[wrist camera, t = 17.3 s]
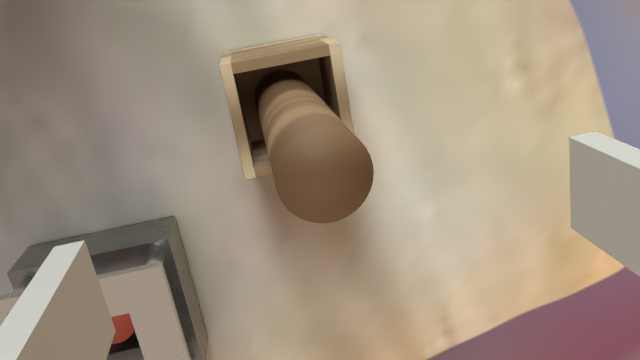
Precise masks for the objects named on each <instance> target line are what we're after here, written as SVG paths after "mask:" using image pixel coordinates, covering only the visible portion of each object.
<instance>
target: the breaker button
mask: <svg viewBox="0 0 640 360" xmlns="http://www.w3.org/2000/svg"><path fill="white" fill-rule="evenodd" d="M111 318H112V321H113V324H114V327H115V330H116V332H115V335H114V338H113V341H112V344H117V343H121V342H123V341H125V340H127V339H128V338H129V337H130V336H131V335H132V334H133V332H134V327H133V323H132V320H131V317H130V314H129V313H127V314H122V315H118V316H113V317H111Z"/></svg>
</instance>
